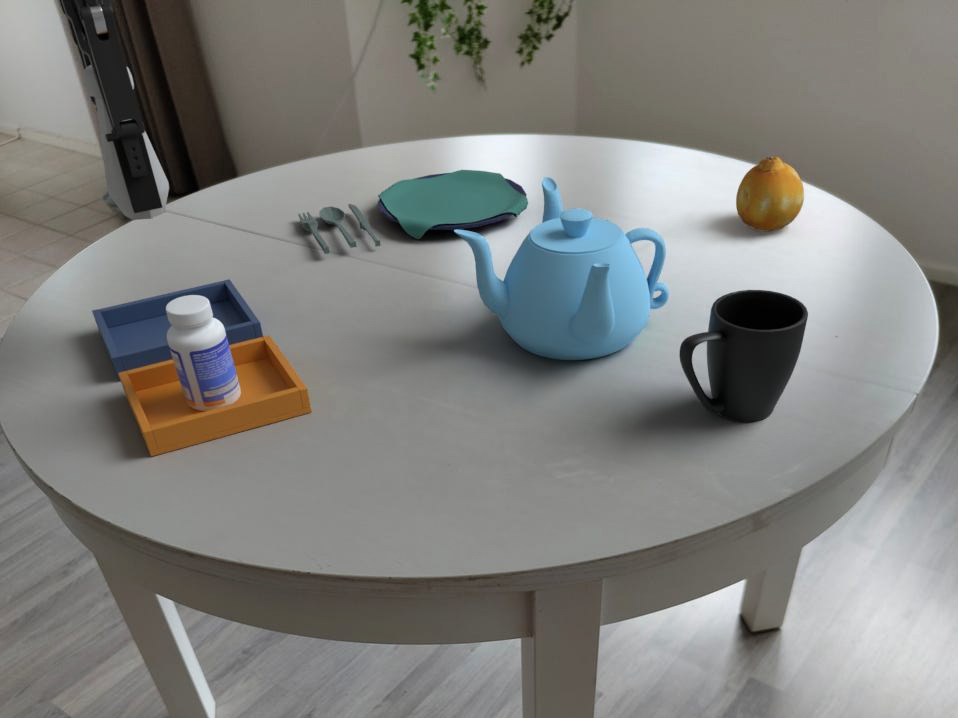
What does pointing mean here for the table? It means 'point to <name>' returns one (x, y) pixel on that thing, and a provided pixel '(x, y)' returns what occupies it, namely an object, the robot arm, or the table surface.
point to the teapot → (572, 283)
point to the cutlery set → (434, 204)
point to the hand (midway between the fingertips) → (141, 198)
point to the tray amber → (178, 425)
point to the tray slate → (168, 324)
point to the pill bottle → (201, 354)
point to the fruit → (770, 195)
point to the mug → (747, 352)
